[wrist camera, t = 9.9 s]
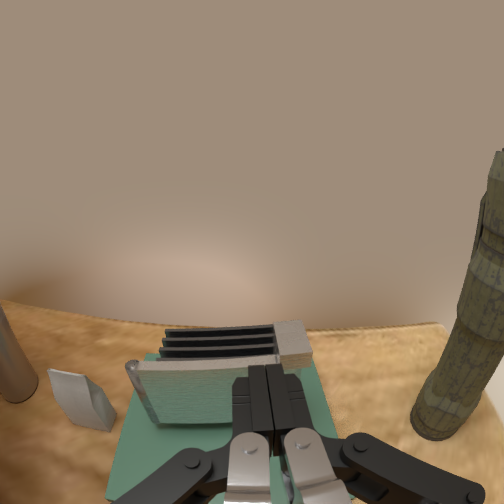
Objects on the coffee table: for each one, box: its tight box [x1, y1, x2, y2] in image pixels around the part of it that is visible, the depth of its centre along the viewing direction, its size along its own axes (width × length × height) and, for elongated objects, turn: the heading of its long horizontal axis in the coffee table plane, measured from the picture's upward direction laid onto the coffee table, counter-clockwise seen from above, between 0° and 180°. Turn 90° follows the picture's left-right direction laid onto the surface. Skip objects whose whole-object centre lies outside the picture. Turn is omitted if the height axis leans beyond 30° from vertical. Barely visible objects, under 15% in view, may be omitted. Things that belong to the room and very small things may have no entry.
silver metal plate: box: [125, 355, 297, 424], centre depth 28 cm, size 18×2×10 cm, turn 95°
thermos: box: [410, 148, 504, 441], centre depth 21 cm, size 9×12×35 cm
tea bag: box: [47, 368, 117, 432], centre depth 29 cm, size 4×7×10 cm, turn 92°
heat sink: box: [105, 320, 355, 504], centre depth 29 cm, size 28×28×16 cm
